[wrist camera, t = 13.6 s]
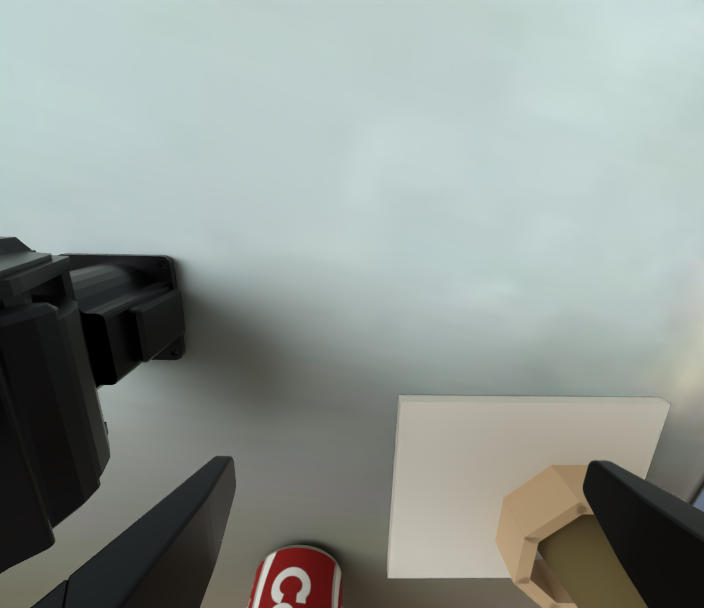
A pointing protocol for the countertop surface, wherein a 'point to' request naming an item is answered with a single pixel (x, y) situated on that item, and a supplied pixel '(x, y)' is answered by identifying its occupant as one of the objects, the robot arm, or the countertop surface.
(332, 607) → the soda can
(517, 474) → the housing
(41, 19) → the countertop surface
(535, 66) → the countertop surface
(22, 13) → the countertop surface
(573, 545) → the cork
